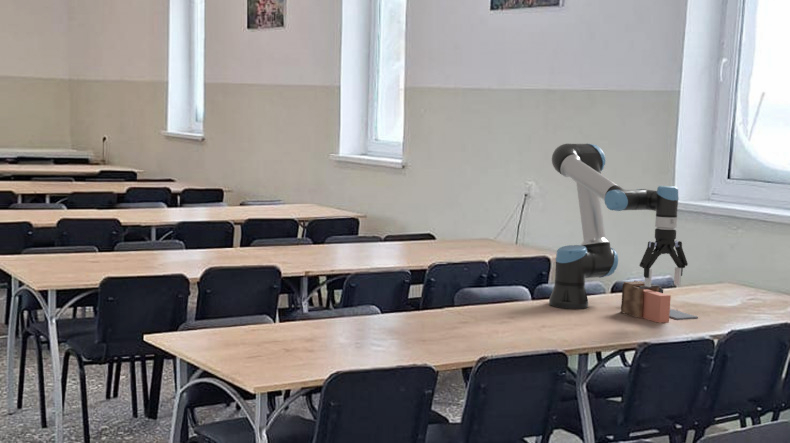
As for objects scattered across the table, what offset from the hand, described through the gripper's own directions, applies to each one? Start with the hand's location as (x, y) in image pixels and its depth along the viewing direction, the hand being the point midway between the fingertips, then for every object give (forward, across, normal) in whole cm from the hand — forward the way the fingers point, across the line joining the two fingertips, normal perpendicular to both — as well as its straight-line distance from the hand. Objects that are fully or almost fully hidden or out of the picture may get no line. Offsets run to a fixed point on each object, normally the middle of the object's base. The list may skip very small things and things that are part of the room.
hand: (662, 285), depth 361 cm
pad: (+13, +13, +8) cm, 20 cm away
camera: (+13, +15, +24) cm, 31 cm away
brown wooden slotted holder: (+13, 0, +12) cm, 18 cm away
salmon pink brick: (+13, 0, +4) cm, 14 cm away
